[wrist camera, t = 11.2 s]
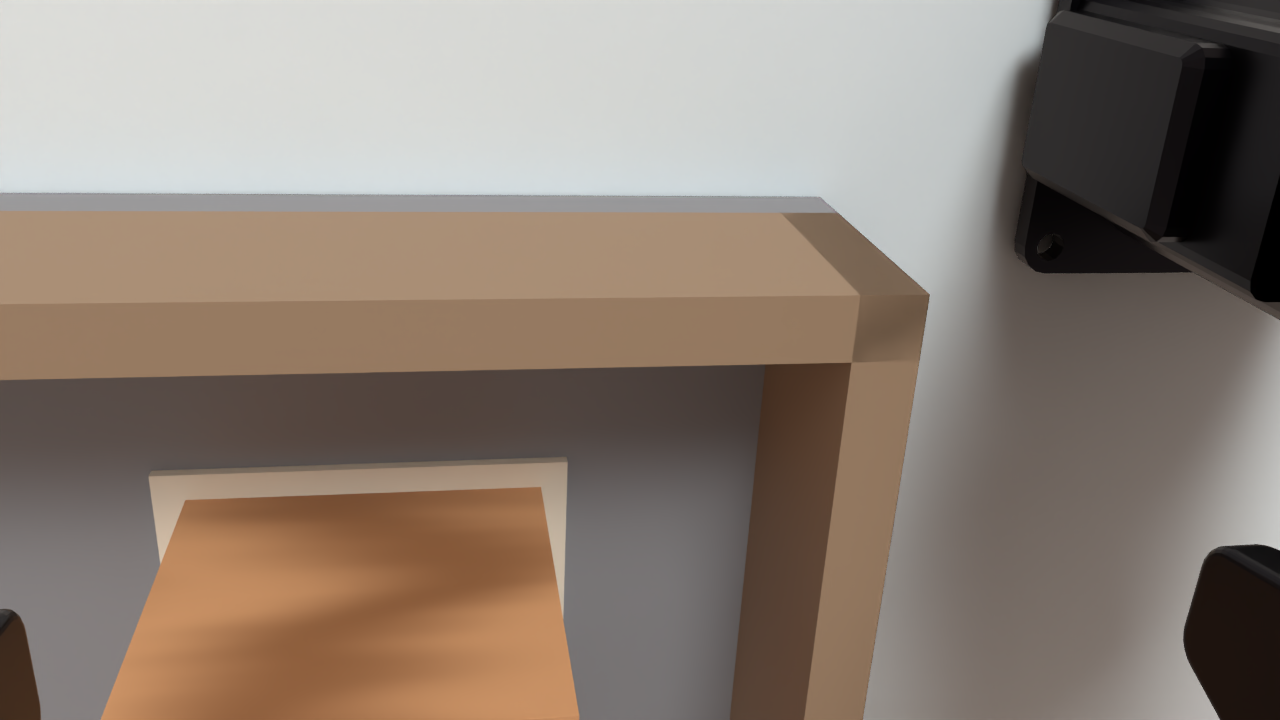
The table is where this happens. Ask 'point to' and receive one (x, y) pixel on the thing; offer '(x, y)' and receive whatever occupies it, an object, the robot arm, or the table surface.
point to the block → (353, 612)
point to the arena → (473, 414)
